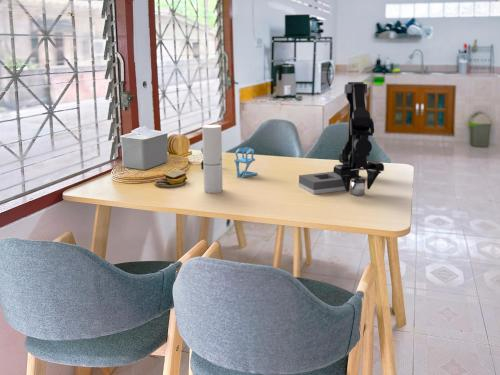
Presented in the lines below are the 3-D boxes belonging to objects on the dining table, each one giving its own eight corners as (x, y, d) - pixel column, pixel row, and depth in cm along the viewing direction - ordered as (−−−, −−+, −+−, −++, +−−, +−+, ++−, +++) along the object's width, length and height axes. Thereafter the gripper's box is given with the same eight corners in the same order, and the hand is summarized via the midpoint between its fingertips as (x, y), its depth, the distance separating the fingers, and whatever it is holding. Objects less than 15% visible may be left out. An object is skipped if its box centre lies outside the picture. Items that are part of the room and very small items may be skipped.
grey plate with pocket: (333, 182, 223) (334, 171, 222) (349, 189, 212) (350, 178, 211) (298, 186, 217) (299, 175, 216) (313, 194, 206) (313, 182, 205)
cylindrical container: (225, 188, 214) (224, 125, 208) (218, 193, 208) (216, 128, 201) (208, 187, 217) (206, 124, 210) (201, 191, 210) (199, 127, 203)
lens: (359, 192, 209) (360, 176, 207) (367, 195, 204) (367, 179, 203) (348, 193, 207) (349, 178, 205) (355, 196, 202) (356, 181, 201)
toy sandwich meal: (149, 183, 223) (148, 172, 222) (178, 178, 231) (178, 167, 230) (163, 190, 214) (163, 178, 212) (193, 184, 221) (193, 173, 220)
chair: (232, 176, 233) (231, 149, 230) (242, 172, 240) (242, 145, 237) (247, 179, 229) (247, 150, 226) (257, 174, 236) (257, 147, 233)
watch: (200, 169, 245) (200, 145, 242) (203, 165, 253) (202, 142, 250) (213, 170, 245) (212, 145, 242) (215, 165, 253) (215, 142, 250)
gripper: (368, 143, 212) (366, 182, 216) (326, 147, 205) (325, 187, 209) (386, 148, 202) (383, 189, 206) (342, 153, 195) (340, 195, 199)
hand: (357, 190), depth 205 cm, fingers open, 9 cm apart
